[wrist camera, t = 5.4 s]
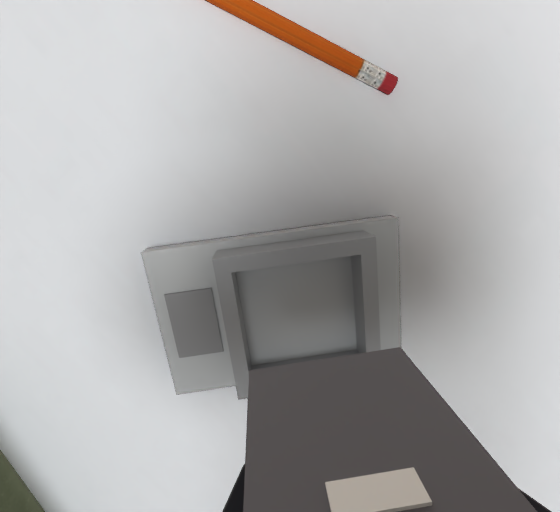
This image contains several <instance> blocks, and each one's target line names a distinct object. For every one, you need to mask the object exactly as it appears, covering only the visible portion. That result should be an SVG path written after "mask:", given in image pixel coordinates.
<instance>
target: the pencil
mask: <svg viewBox="0 0 560 512" xmlns="http://www.w3.org/2000/svg"><path fill="white" fill-rule="evenodd" d="M206 1H208V2H210V3H211V4H213V5H215V6H217V7H219V8H221V9H223V10H225V11H227V12H229V13H231V14H233V15H235V16H237V17H239V18H240V19H242V20H244V21H246V22H248V23H250V24H252V25H254V26H256V27H258V28H260V29H262V30H264V31H266V32H268V33H269V34H271V35H273V36H275V37H277V38H279V39H281V40H283V41H285V42H287V43H289V44H291V45H293V46H295V47H297V48H298V49H300V50H302V51H304V52H306V53H308V54H310V55H312V56H314V57H316V58H318V59H320V60H322V61H324V62H326V63H327V64H329V65H331V66H333V67H335V68H337V69H339V70H341V71H343V72H345V73H347V74H349V75H351V76H353V77H355V78H356V79H358V80H360V81H362V82H364V83H366V84H368V85H370V86H372V87H374V88H376V89H378V90H380V91H382V92H384V93H385V94H387V95H388V94H390V93H391V92H392V91H393V89H394V88H395V86H396V84H397V81H398V77H396V76H394V75H392V74H390V73H389V72H387V71H385V70H383V69H381V68H379V67H377V66H375V65H373V64H372V63H370V62H368V61H366V60H364V59H362V58H360V57H358V56H357V55H355V54H353V53H351V52H349V51H347V50H345V49H343V48H341V47H340V46H338V45H336V44H334V43H332V42H330V41H328V40H326V39H324V38H323V37H321V36H319V35H317V34H315V33H313V32H311V31H309V30H308V29H306V28H304V27H302V26H300V25H298V24H296V23H294V22H292V21H291V20H289V19H287V18H285V17H283V16H281V15H279V14H277V13H276V12H274V11H272V10H270V9H268V8H266V7H264V6H262V5H260V4H259V3H257V2H255V1H253V0H206Z"/></svg>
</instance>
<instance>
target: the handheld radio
mask: <svg viewBox="0 0 560 512" xmlns="http://www.w3.org/2000/svg"><path fill="white" fill-rule="evenodd" d="M0 512H45V511H44V510H43V508H42V507H41V505H40V504H39V503H38V501H37V500H36V499H35V497H34V496H33V494H32V493H31V492H30V490H29V489H28V488H27V486H26V485H25V483H24V482H23V481H22V479H21V478H20V476H19V475H18V474H17V472H16V471H15V470H14V468H13V467H12V465H11V464H10V463H9V461H8V460H7V459H6V457H5V456H4V454H3V453H2V452H1V450H0Z"/></svg>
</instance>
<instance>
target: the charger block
mask: <svg viewBox="0 0 560 512" xmlns="http://www.w3.org/2000/svg"><path fill="white" fill-rule="evenodd" d="M243 512H537V511H536V510H535V508H534V507H533V506H532V505H531V504H530V502H529V501H528V500H527V499H526V498H525V496H524V495H523V494H522V493H521V492H520V490H519V489H518V488H517V487H516V486H515V484H514V483H513V482H512V481H511V480H510V478H509V477H508V476H507V475H506V474H505V472H504V471H503V470H502V469H501V468H500V466H499V465H498V464H497V463H496V462H495V460H494V459H493V458H492V457H491V456H490V454H489V453H488V452H487V451H486V450H485V448H484V447H483V446H482V445H481V444H480V442H479V441H478V440H477V439H476V438H475V436H474V435H473V434H472V433H471V432H470V430H469V429H468V428H467V427H466V426H465V424H464V423H463V422H462V421H461V420H460V418H459V417H458V416H457V415H456V414H455V412H454V411H453V410H452V409H451V408H450V406H449V405H448V404H447V403H446V402H445V400H444V399H443V398H442V397H441V396H440V394H439V393H438V392H437V391H436V390H435V388H434V387H433V386H432V385H431V384H430V382H429V381H428V380H427V379H426V378H425V376H424V375H423V374H422V373H421V372H420V370H419V369H418V368H417V367H416V366H415V364H414V363H413V362H412V361H411V359H410V358H409V357H408V356H407V355H406V353H405V352H404V351H403V350H402V349H401V347H398V348H391V349H385V350H378V351H372V352H365V353H359V354H352V355H346V356H339V357H332V358H326V359H319V360H313V361H306V362H300V363H293V364H287V365H280V366H274V367H267V368H261V369H254V370H249V387H248V410H247V434H246V458H245V482H244V505H243Z"/></svg>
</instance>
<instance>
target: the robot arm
mask: <svg viewBox="0 0 560 512" xmlns="http://www.w3.org/2000/svg"><path fill="white" fill-rule="evenodd" d="M244 482H245V464H244V465H243V467H242V469H241V472H240V474H239V476H238V478H237V481H236V483H235V485H234V487H233V489H232V492H231V494H230V496H229V498H228V500H227V503H226V505H225V507H224V509H223V512H243V505H244ZM518 489H519V488H518ZM519 490H520V489H519ZM520 492H521V493H522V494H523V495H524V496H525V498H526V499H527V500H528V501H529V502H530V504H531V505H532V506H533V507H534V508H535V510H536V511H537V512H551V511H550V510H548V509H547V508H546V507H544V506H543V505H541V504H540V503H538V502H537V501H536V500H534V499H533V498H531V497H530V496H529V495H527V494H526V493H524V492H523V491H521V490H520Z"/></svg>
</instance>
